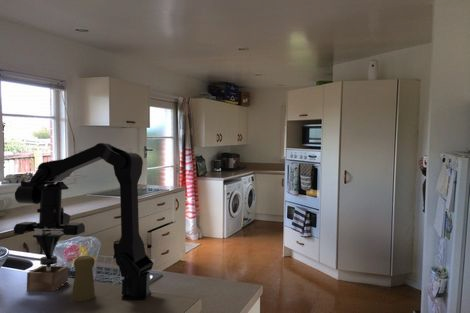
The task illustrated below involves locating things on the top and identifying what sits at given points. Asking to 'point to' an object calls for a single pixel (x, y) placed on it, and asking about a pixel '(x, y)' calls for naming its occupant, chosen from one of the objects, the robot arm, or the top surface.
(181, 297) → the top surface
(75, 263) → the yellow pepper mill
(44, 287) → the wooden box
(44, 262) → the plunger
